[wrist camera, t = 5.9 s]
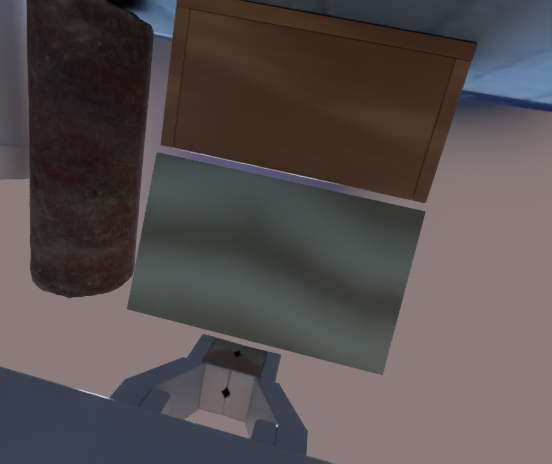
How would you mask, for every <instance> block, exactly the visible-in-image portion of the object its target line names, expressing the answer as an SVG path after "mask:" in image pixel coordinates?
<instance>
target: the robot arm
mask: <svg viewBox="0 0 552 464" xmlns="http://www.w3.org/2000/svg"><path fill="white" fill-rule="evenodd" d="M280 358H281V355H280V354H277V353H273V352H267V351H264V350H259V349H255V348H251V347H247V346H243V345H241V344H237V343H234V342H230V341H227V340H224V339H220V338H216V337H213V336H209V335H205V334H203V335H202V336H201V337H200V339H199V340H198V342H197V343H196V345H195V346H194V348H193V349H192V351H191V353H190V354H189V355H188V357H187V358H184V357H182V358H180V359H177V360H174V361H172V362H169V363H167V364H164V365H161V366H159V367H156V368H153V369H151V370H148V371H146V372H143V373H141V374H138V375H136V376H133V377H130V378H127V379H125V380H124V381H123V382H122V384H121V385H120V386H119V387H118V388H117V389H116V390H115V392H114V393H113V394H112V395H111V396H110V397H109V398H106V397H103V396H100V395H96V394H93V393H90V392H86V391H82V390H79V389H76V388H72V387H69V386H65V385H62V384H58V383H55V382H51V381H48V380H45V379H41V378H37V377H34V376H30V375H27V374H24V373H21V372H17V371H14V370H10V369H7V368H3V367H0V464H335V463H331V462H328V461H324V460H321V459H317V458H313V457H310V456H307V455H306V451H307V436H308V431H307V429H306V428H305V426H304V424H303V423H302V421H301V419H300V418H299V416H298V414H297V413H296V411H295V409H294V408H293V406H292V404H291V403H290V401H289V399H288V398H287V396H286V394H285V393H284V391H283V389H282V388H281V386H280V384H279V383H276V382H275V381H276V376H277V372H278V367H279V362H280ZM198 409H200V410H204V411H208V412H213V413H216V414H220V415H224V416H227V417H230V418H233V419H236V420H239V421H242V422H245V425H246V428H247V431H248V435H249V438H250V439H248V438H245V437H241V436H238V435H234V434H231V433H227V432H224V431H221V430H217V429H214V428H210V427H207V426H203V425H200V424H196V423H193V422H189V421H186V420H184V419H186V418H187V417H189V416H190V415H191V414H193V413H194V412H196V411H197V410H198Z"/></svg>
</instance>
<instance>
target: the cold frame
mask: <svg viewBox="0 0 552 464" xmlns="http://www.w3.org/2000/svg"><path fill="white" fill-rule="evenodd" d="M476 46H477V44H476V43H471V42H466V41H460V40H455V39H449V38H444V37H438V36H433V35H427V34H422V33H416V32H411V31H405V30H400V29H394V28H389V27H383V26H378V25H372V24H367V23H361V22H356V21H350V20H345V19H339V18H334V17H328V16H323V15H318V14H312V13H307V12H301V11H296V10H290V9H285V8H279V7H274V6H268V5H263V4H257V3H252V2H246V1H241V0H177V6H176V13H175V22H174V31H173V40H172V49H171V58H170V67H169V76H168V85H167V93H166V102H165V111H164V120H163V130H162V138H161V146H166V147H170V148H175V149H179V150H184V151H189V152H193V153H198V154H202V155H207V156H211V157H216V158H220V159H225V160H229V161H234V162H239V163H243V164H248V165H253V166H257V167H261V168H266V169H271V170H276V171H280V172H284V173H289V174H293V175H298V176H303V177H307V178H312V179H316V180H321V181H325V182H330V183H335V184H339V185H344V186H348V187H353V188H358V189H362V190H367V191H371V192H376V193H380V194H385V195H389V196H394V197H399V198H403V199H408V200H413V201H417V202H421V203H426V201H427V198H428V195H429V191H430V188H431V185H432V182H433V179H434V176H435V173H436V170H437V166H438V163H439V160H440V157H441V154H442V151H443V148H444V145H445V142H446V139H447V135H448V132H449V129H450V126H451V123H452V120H453V117H454V114H455V111H456V107H457V104H458V101H459V98H460V95H461V92H462V89H463V86H464V83H465V80H466V77H467V74H468V70H469V67H470V64H471V61H472V59H473V56H474V52H475V49H476Z"/></svg>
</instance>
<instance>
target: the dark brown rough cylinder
mask: <svg viewBox="0 0 552 464" xmlns="http://www.w3.org/2000/svg"><path fill="white" fill-rule="evenodd" d="M26 3H27V63H28V99H29V167H30V233H31V234H30V247H31V262H30V270H31V275H32V280H33V282H34V283H35V284H36V285H37V286H38V287H39V288H40V289H42V290H43V291H47V292H51V293H54V294H57V295H62V296H65V297H68V298H72V297H84V296H92V295H97V294H104V293H108V292H111V291H113V290H115V289H117V288H119V287H120V286H122V285H123V284H124V283H125V282H126V281H128V280H129V278H130V277H131V276H132V275H133V271H134V266H135V250H136V239H137V225H138V214H139V200H140V189H141V176H142V164H143V151H144V142H145V132H146V120H147V108H148V99H149V87H150V75H151V61H152V50H153V36H154V31H153V29H152V26H151V25H150V24H148V23H146V22H144V21H143V20H141V19H139V17H138V16H137V15H135V14H134V13H133V12H131V11H129V10H126V9H124V8H122V7H119V6H117V5H116V4H112V3H110V2H108V1H107V0H26Z"/></svg>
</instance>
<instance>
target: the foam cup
mask: <svg viewBox="0 0 552 464" xmlns="http://www.w3.org/2000/svg"><path fill="white" fill-rule="evenodd" d="M27 178H30V167H29V99H28V63H27V3H26V0H0V179H27Z"/></svg>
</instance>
